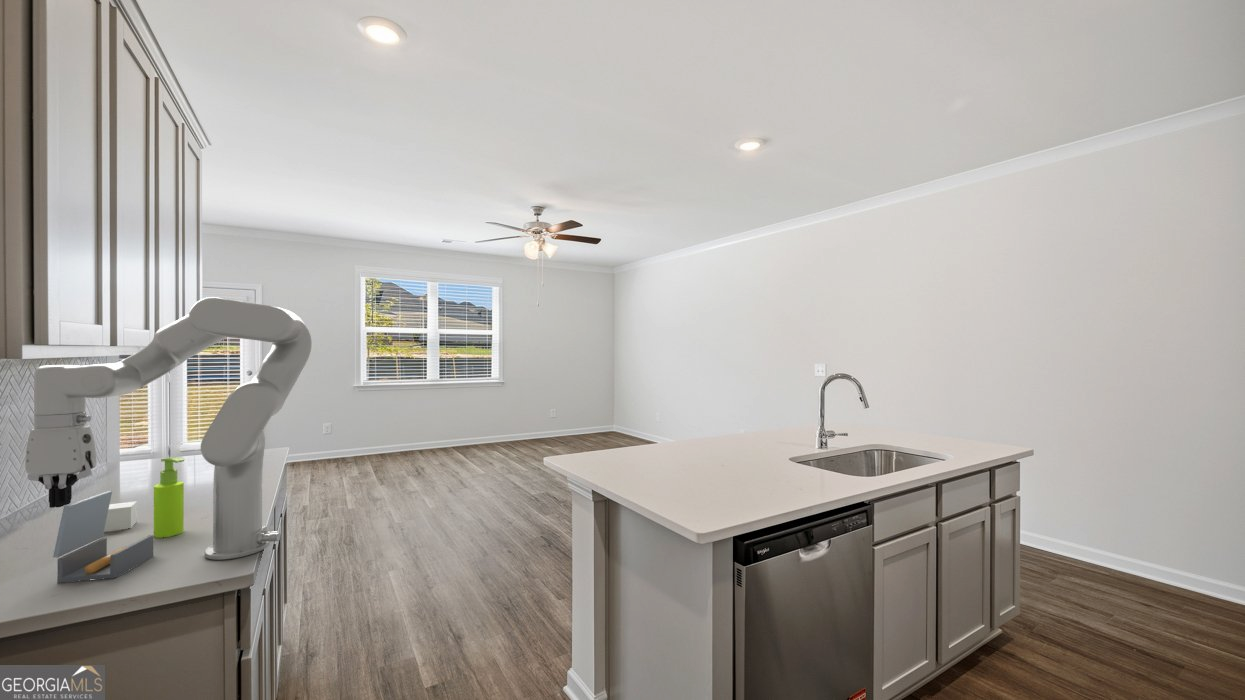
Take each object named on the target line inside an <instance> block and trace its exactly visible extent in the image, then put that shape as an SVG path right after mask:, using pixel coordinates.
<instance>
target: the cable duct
mask: <svg viewBox="0 0 1245 700" xmlns="http://www.w3.org/2000/svg"><path fill="white" fill-rule="evenodd" d="M107 544H108V540H107V537H101V538H99V539H97V540H95V541H93V542H90V543H88V544H86V545H84V546H82V547H80V548H77V549H75V550H73V551H71V552H69V553H66V554H64V555H62V557H61V556H60V557H58V558H57V579H56V580H57V584H62V583H61V582H65V583H71V582H70V581H77V582H80V581H79V580H90V579H102V580H106V579H105V578H115V577H117V576H118V577H120V576H122V575H123V574H125V573H127V572H129V571H130V570H132V569H134V568H136V567H137V566H139V565H141V564H143V563H144V562H146V561H148V560H149V559H151V558H153V557H154V534H151V535H150V534H148V536H145V537H143V538H142V539H139V540H137V541H135V542H133V543H131V544H130V545H127V546H122V547H121V548H118V549H117V550H115V551H113V552H111V553H109V554H108V552H107V550H108V549H107V547H108V545H107ZM152 556H153V557H152ZM150 557H151V558H150ZM147 559H148V560H147ZM145 560H146V561H145ZM140 563H141V564H140ZM138 564H139V565H138ZM136 565H137V566H136ZM135 566H136V567H135ZM133 567H134V568H133ZM131 568H132V569H131ZM129 569H130V570H129ZM128 570H129V571H128ZM126 571H127V572H126ZM124 572H125V573H124ZM121 574H122V575H121ZM119 575H120V576H119ZM118 577H117V578H118ZM103 578H104V579H103ZM115 579H116V578H115ZM90 581H91V580H90Z"/></svg>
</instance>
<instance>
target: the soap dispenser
mask: <svg viewBox="0 0 1245 700" xmlns="http://www.w3.org/2000/svg"><path fill="white" fill-rule="evenodd" d="M184 461H185V459H183V458H181V457H167V458H161V459H160V462H164V469H163V470H162V471H160V477H159V478H160V483H157V484H155V485H154V486H153V538H155V537H156V539H163V537H164V538H169V537H174V536H177V535H180V534H182V533H184V522H185V521H184V513H185V512H184V511H185V510H184V505H185V504H184V500H185V499H184V498H185V497H184V496H185V495H184V491H185V490H184V489H185V488H184V487H185V485H184V483H185V482H184V481H179V480H178V469H175V468H174V463H175V464H176V463H177V464H178V463H182V462H184Z"/></svg>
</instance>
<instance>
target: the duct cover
mask: <svg viewBox="0 0 1245 700" xmlns="http://www.w3.org/2000/svg"><path fill="white" fill-rule="evenodd" d="M112 494H113V491H111V490H106V491H103V492H101V493H98V494H96V495H92V496H90V497H89V496H88V497H87V498H84V499H81V500H77V501H75V502H72V503H70V504H68V505H65V506H63V508H62V514H61V519H60V523H59V526H58V527H59V528H58V532H57V537H56V541H55V546H54V550H53V555H52V558H57V559H59V558H61V556H62V557H63V556H65V555H67V554H70V553H72V552H74V551H76V550H78V549H80V548H82V547H85V546H87V545H89V544H91V543H93V542H95V541H98V540H100V539H102V538H104V537H103V536H104V533H105V532H104V528H105V523H106V519H107V514H108V509H109V504H111V499H112Z"/></svg>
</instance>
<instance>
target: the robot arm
mask: <svg viewBox="0 0 1245 700" xmlns="http://www.w3.org/2000/svg"><path fill="white" fill-rule="evenodd" d="M227 338H234V339H235V338H236V339H243V340H251V341H258V342H266V343H272V344H271V348H270V350H269V352H268V353H267V354H266V356H265V357H264V358H263V360H262V361H261V363H260V364H259V365H260V366H259V367H258V369H257V370H256V372H255V374H253V376H252V377H251V379H250V381H247V382H245V383H242V384H241V385H239V386H237V387H236V388H235V389H234V390H232V392H231V393H230V394H229V395H228V397H227V398H226V400H225V401H224V403H223V404H222V406H221V408H220V409H219V411H218V412H217V414H216V416H215V417H214V419H213V420H212V422H211V424H210V426H208V428H207V430H206V431H205V433H204V435H203V438H202V439H201V442H200V452H201V456H202V457H203V459H204V460H205V461H206V462H208V463H209V464H211V465H213V468H214V469H213V485H212V486H213V487H212V488H213V490H212V497H213V498H212V504H213V505H212V508H213V511H212V517H213V519H212V530H213V531H212V545H210V546H208V547H206V548H205V550H204V557H205V558H206V559H208V560H214V561H215V560H217V561H219V560H232V559H237V558H238V559H239V558H241V557H242V558H243V557H246V556H250V555H253V554H257V553H259V552H261V551H263V550H265V549H266V548H268V547H269V546H270V543H271V542H279V541H280V540H281V533H280V531H279V530H273V531H269V530H268V526H267V525H263V483H264V482H263V479H264V478H263V475H264V474H263V473H264V472H263V471H264V470H263V469H264V456H265V446H266V443H265V442H266V441H265V439H266V438H265V433H264V429H265V427H266V426H267V425H268V423H269V421H270V419H271V418H272V417H273V416H275V415H276V414H278V413H279V412H280V410H281V409H282V408H283V406H284V404H285V402H286V400H287V398H288V397H289V395H290V393H291V391H292V390H293V387H294V386H295V385H296V383H297V381H298V379H299V377H300V375H301V373H302V371H303V369H304V368H305V366H306V365H307V362H308V360H309V358H310V355H311V351H312V337H311V332H310V331H309V329H308V327H307V325H306V324H305V322H304V321H303V320H302V319H301V317H299V316H298V315H297V314H295V313H294V312H292V311H291V310H288V309H285V308H281V307H278V306H272V305H267V304H260V303H259V304H258V303H253V302H246V301H238V300H234V299H233V300H232V299H228V298H227V299H225V298H222V297H221V298H220V297H215V296H211V297H210V296H209V297H204V298H201V299H200V300H198V301H196V302H195V303H194V304H193V305H192V306H191V308H190V309H189V313H188V314H186V315H185V316H182V317H181V318H179V319H177V320H175V321H173V322H171V323H169V324H167V325H165V326H163V327H161V328H159V329H157V331H155V333H154V336H153V338H152V340H151V342H150V343H149V344H147V345H146V346H144V348H142V349H140V350H139V351H137V352H135V353H133V354H132V355H130V356H128V357H126V358H123V359H122V360H119V361H118V362H112V363H110V362H109V363H106V362H105V363H98V364H97V363H96V364H88V365H86V364H85V365H76V364H52V365H50V364H48V365H41V366H38V367H37V368H36V369H35V370H34V375H33V378H34V379H33V381H34V382H33V391H34V392H33V414H34V415H33V418H34V420H33V428H32V429H31V430H30V432H29V435H28V438H27V442H26V443H27V444H26V450H25V458H24V459H25V461H24V464H25V465H24V467H25V472H26V474H28V476H27V480H29V481H35V482H39V483H41V484H42V485H43V486H44V488H45V489H46V490H48V503H49V504H48V505H49V507H48V508H50V509H51V508H52V509H54V508H61V507H64V506H66V505H69V504H72V503H71V502H72V499H73V497H72V494H73V493H72V492H73V491H72V487H73V486H75V484H76V483H77V482H78V481H79V480H81V479H85V478H89V477H92V474H93V472H92V469H94V468H96V465H97V453H96V444H95V438H94V433H93V431H92V428H91V426H90V425H86V424H87V423H88V422H89V423H90V422H91V420H92V416H91V415H87V413H86V398H87V399H88V398H90V399H105V398H106V399H107V398H111V397H116V396H122V395H127V394H131V393H133V392H135V391H137V390H139V389H141V388H144V387H145V386H147V385H148V384H150V383H152V382H154V381H156V380H158V379H159V378H161V377H163V376H165V375H166V374H168V373H169V372H171V371H173V370H174V369H175V368H177V367H178V366H180V365H182V364H183V363H184V362H186V361H187V360H189V359H190V358H192V357H194V356H196V355H197V354H200V353H201V352H203V351H205V350H208V349H209V348H211V347H213V346H214V345H216V344H217V343H219V342H222V341H224V340H225V339H227Z"/></svg>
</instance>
